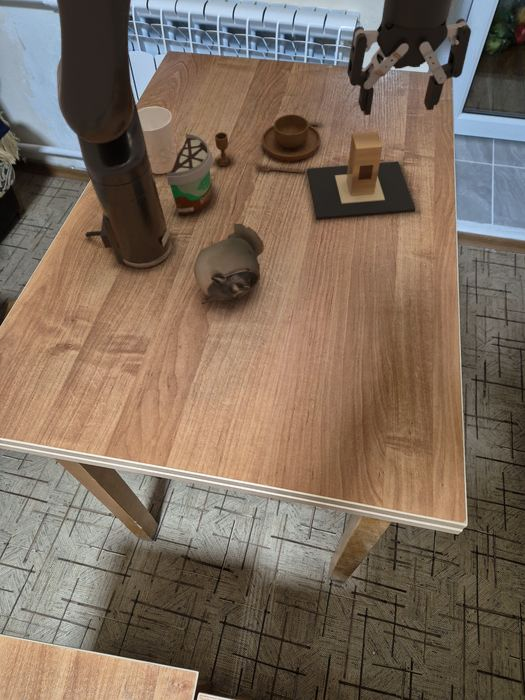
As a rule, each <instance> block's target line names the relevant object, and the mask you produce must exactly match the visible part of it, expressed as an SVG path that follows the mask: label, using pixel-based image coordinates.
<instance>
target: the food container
mask: <svg viewBox="0 0 525 700" xmlns="http://www.w3.org/2000/svg"><path fill="white" fill-rule="evenodd" d="M213 163H214V159H213V154H212V152H211V149H210V147H209V145H208V144H207V142H206V141H205V140H204V139H202V137H200V136H198V135H196V134H191V133H185V141H184V144H183V145H182V148H181V149H180V151H179V152H178V153H177V159H176V162H175V164H174V167H173V169H172V171H170V172H167V173H166V179H167V185H168V186H170V190H171V192H172V196H173V200H174V205H175V207H176V211H177V213H178V214H177V215H179V216H188V215H194V214H197V213H200V212H201V211H203V210H204V209H206V208H207V207H208V206H209V205H210V204H211V201H212V195H213V194H212V182H211V181H212V179H211V168H212V167H213Z"/></svg>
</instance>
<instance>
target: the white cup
mask: <svg viewBox="0 0 525 700" xmlns="http://www.w3.org/2000/svg"><path fill="white" fill-rule="evenodd" d="M137 110H138V115H139V119H140V122H141V126H142V130H143V134H144V139H145V143H146V147H147V152H148V156H149V160H150V164H151V168H152V172H153V174H154V175H155V174H156V175H161V174H162V175H163V174H167V173H171V171H172V169H173V167H174V164H175V162H176V159H177V156H178V152H177V142H176V135H175V134H176V133H175V129H174V128H175V127H174V122H173V121H174V120H173V116H172V115H173V114H172V113H171V111H170V110H169V109H167V108H165V107H162V106H156V105H153V106H146V107H143V108H142V107H141V108H139V109H137Z"/></svg>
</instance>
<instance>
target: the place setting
mask: <svg viewBox="0 0 525 700" xmlns="http://www.w3.org/2000/svg"><path fill="white" fill-rule="evenodd" d="M314 126H319V123H316V122H311V121H310V122H309V121H308V119H306V118H305V117H303V116H302V115H299V114H285V115H281V116H279V117H277V118H276V119H275V120H274V122H273V125H270V126H269V127H268V128H267V129H266V130H265V131H264V132H263V134H262V136H261V142H262V147H263V149H264V150H265V152H266V153H267V154H268V155H270V156H271V157H273V158H275V159H278V160H281V161H287V162H288V161H289V162H290V161H299V160H303V159H306V158H308V157H311V155H314V153H315V152H317V150H318V148H319V147H320V144H321V135H320V132H319V131H318V130H317V129H316V127H314ZM214 142H215V146H216V148H217V150H218V151H220V158H218V159H217V160H216V163H217V165H218V166H219V167H224V168H225V167H228V166H230V165H231V163H232V159H231V158H229V157H227V154H226V150H227V149H228V147H229V138H228V133H226V132H223V131H220V132H217V133H215V135H214ZM254 166H255V167H254V168H256V169H257V170H259V171H263V172H270V171H278V172H279V171H280V172H286V173H296V174H297V173H298V174H304V173H305V171H303V170H295V169H288V168H287V169H286V168H277V167H269V166H264V165H262V164H258V163H255V165H254Z"/></svg>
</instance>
